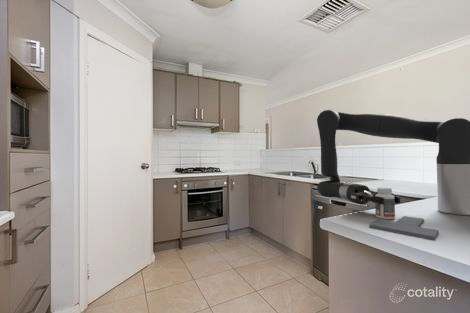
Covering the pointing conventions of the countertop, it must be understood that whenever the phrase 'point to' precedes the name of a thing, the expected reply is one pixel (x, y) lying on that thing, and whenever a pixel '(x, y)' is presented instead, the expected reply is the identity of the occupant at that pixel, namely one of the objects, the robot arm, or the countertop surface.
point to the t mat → (406, 227)
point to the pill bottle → (385, 204)
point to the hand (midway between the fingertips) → (391, 200)
